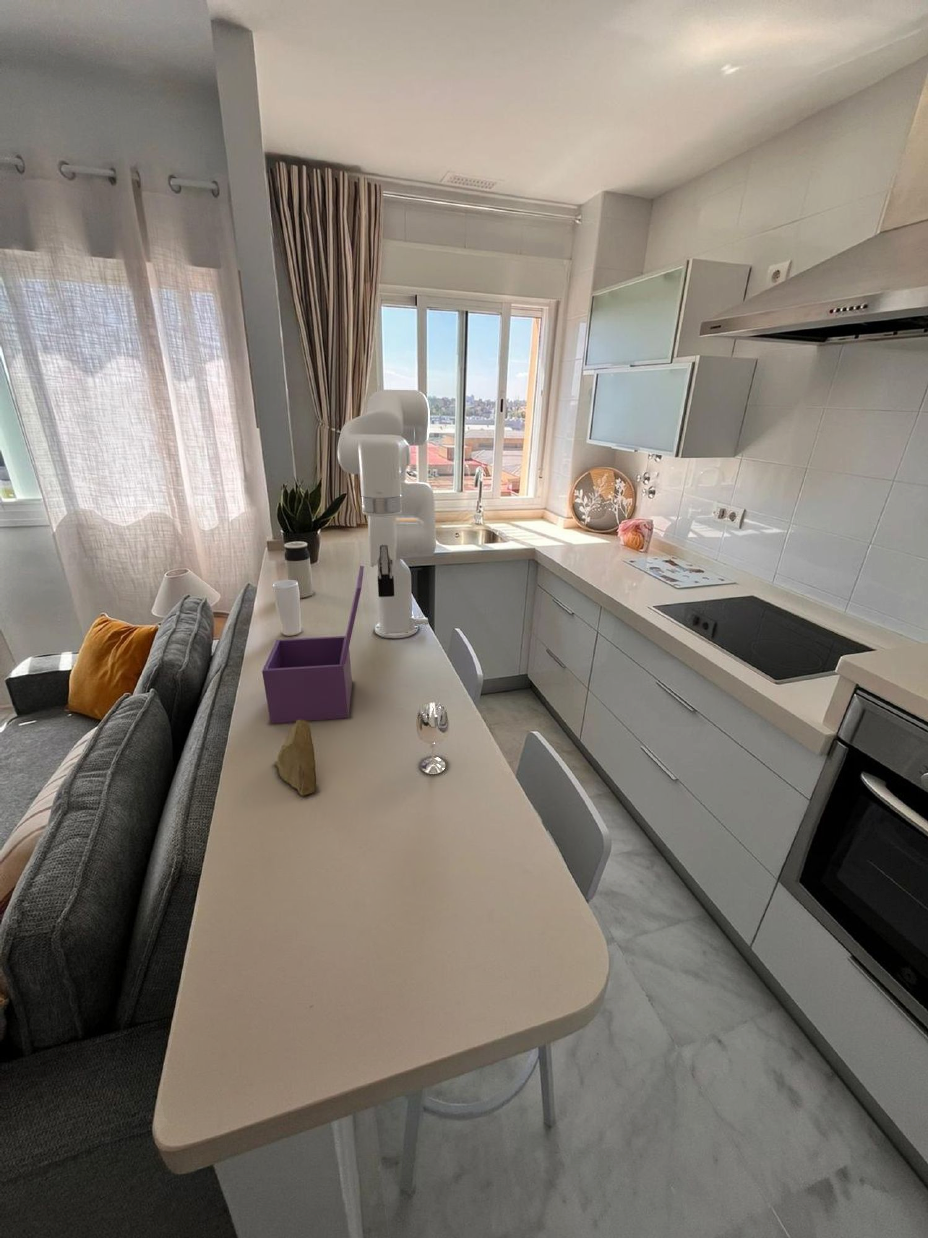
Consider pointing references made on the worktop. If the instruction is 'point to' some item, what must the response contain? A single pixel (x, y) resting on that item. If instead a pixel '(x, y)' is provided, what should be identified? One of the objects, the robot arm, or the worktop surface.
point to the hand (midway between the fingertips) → (386, 595)
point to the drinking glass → (288, 606)
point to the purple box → (307, 680)
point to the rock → (298, 759)
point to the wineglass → (432, 733)
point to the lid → (352, 614)
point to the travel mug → (299, 567)
